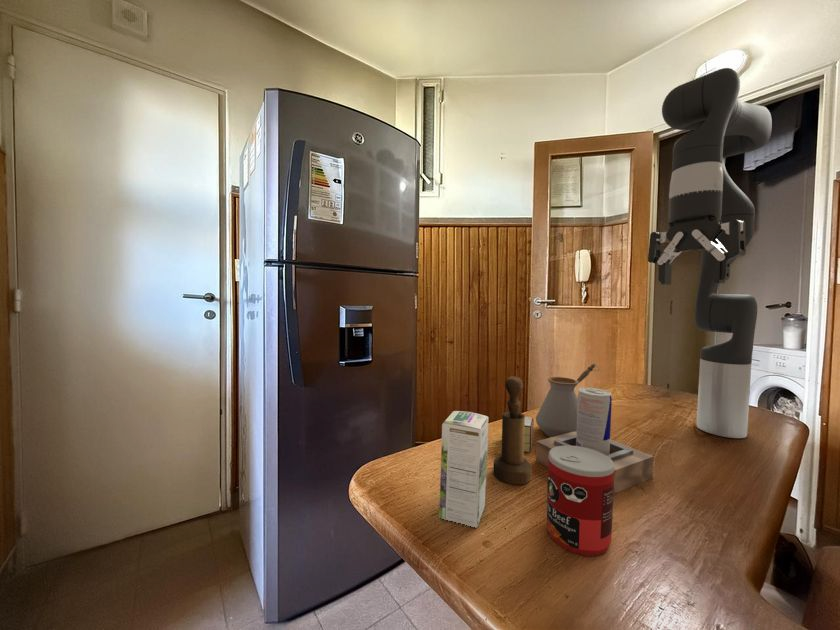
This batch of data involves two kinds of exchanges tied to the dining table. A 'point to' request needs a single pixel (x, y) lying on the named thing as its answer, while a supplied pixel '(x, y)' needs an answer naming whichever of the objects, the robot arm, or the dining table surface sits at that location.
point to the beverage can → (594, 419)
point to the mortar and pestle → (513, 440)
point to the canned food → (580, 499)
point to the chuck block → (627, 460)
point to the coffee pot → (560, 406)
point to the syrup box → (463, 467)
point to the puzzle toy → (528, 434)
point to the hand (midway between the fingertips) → (691, 284)
